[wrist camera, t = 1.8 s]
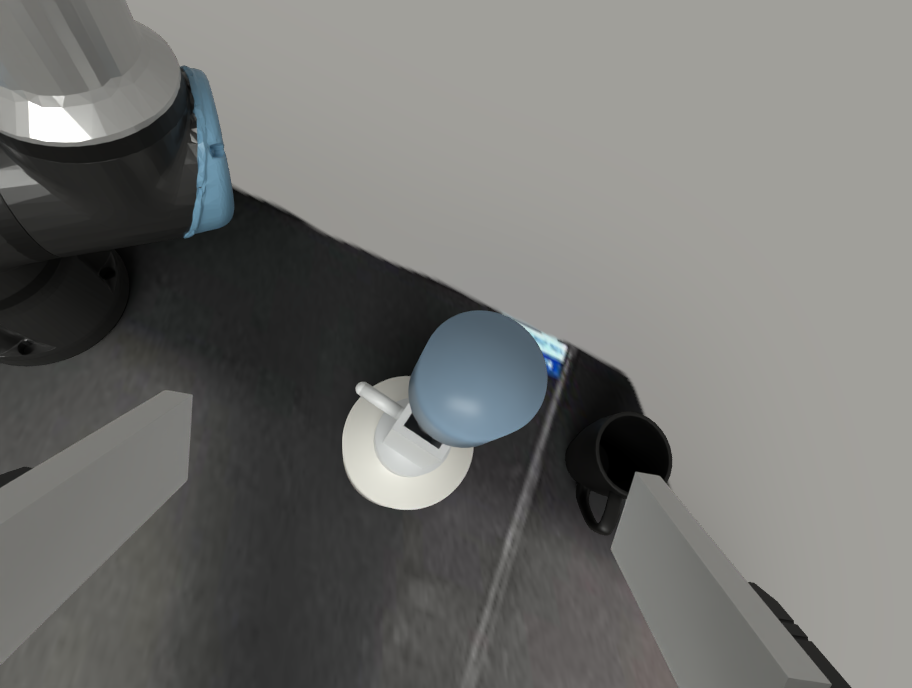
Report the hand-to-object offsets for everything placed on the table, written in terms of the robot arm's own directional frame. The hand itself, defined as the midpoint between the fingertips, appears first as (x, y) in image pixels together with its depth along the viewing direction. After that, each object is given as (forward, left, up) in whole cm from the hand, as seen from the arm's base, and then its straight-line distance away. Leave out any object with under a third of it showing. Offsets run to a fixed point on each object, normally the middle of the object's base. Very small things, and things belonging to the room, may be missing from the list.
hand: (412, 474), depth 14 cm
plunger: (+1, +5, -16) cm, 16 cm away
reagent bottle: (+1, +5, -36) cm, 37 cm away
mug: (+20, +14, -37) cm, 44 cm away
